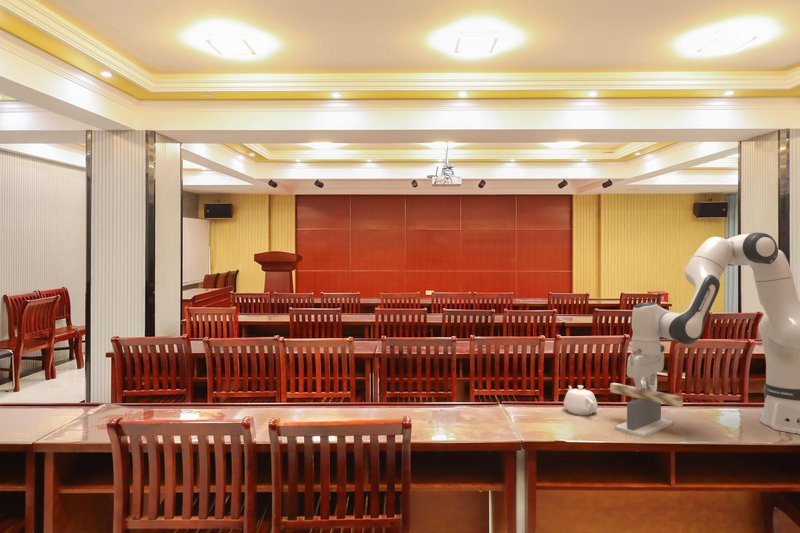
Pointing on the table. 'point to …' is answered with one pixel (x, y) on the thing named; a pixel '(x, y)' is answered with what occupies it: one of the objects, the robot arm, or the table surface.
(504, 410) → the table surface
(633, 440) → the table surface
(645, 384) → the beer glass
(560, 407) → the table surface
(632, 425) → the stand
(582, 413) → the teapot
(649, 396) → the birch bar
